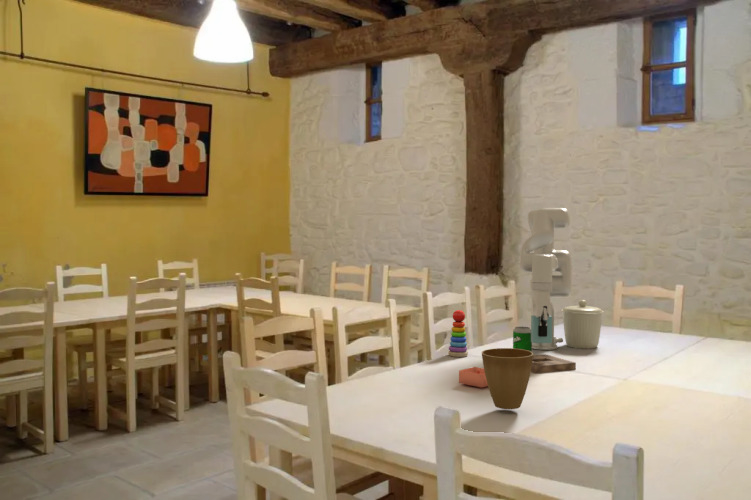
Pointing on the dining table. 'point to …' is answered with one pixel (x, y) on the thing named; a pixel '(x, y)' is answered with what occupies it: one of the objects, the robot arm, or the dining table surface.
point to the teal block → (534, 330)
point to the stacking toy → (458, 336)
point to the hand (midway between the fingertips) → (541, 335)
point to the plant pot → (507, 375)
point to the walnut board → (550, 364)
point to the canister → (582, 325)
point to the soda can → (522, 338)
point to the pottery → (473, 377)
